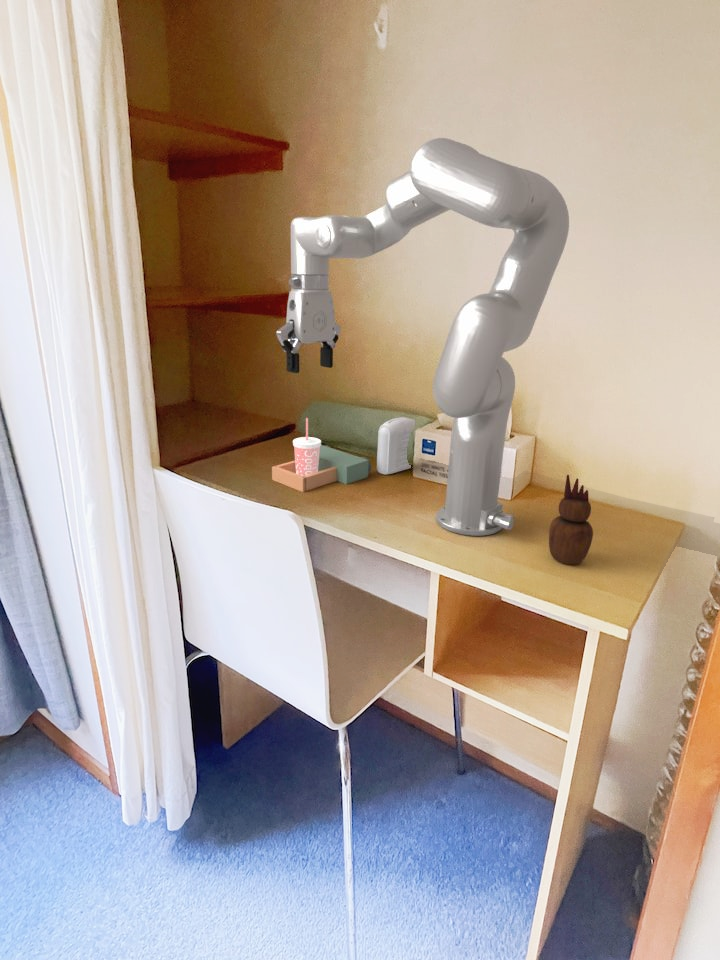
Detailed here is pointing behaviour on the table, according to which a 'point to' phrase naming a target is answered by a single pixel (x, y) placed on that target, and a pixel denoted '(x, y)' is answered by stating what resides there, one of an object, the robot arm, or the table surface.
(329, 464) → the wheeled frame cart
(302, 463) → the beverage cup
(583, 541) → the wooden figurine
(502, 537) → the table surface
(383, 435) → the photo printer
